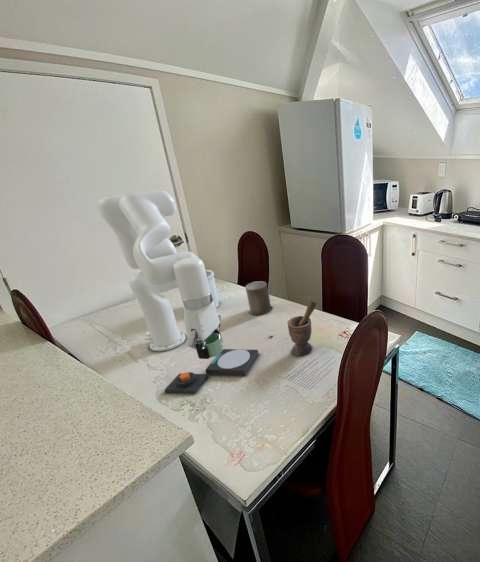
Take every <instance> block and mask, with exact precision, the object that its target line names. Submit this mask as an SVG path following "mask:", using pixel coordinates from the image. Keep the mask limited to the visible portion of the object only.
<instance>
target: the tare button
mask: <svg viewBox="0 0 480 562" xmlns="http://www.w3.org/2000/svg"><path fill="white" fill-rule="evenodd" d="M180 374H181V375H180V380H181V381H183V382H184V381H187V380H189V379H190V375H189V373H187V372H183V373H180Z"/></svg>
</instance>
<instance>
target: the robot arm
mask: <svg viewBox="0 0 480 562" xmlns="http://www.w3.org/2000/svg"><path fill="white" fill-rule="evenodd" d="M97 208H98V211H99V213H100V215H101V217H102V219H103V220H104V221H105V223H106V224H107V225H108V226H109V227H110V228H111V230H112V231H113V232H114V234H115V236H116V239H117V241H118V244H119V246H120V250H121V252H122V254H123V255H122V256H123V257H124V260H125V262H126V264H127V265H128V266H129V268H131V269H134V270H139V272H136V273H135V274H133V275H131V276H130V278H129V279H128V285H129V287H130V289H131V291H132V294H133V295H134V296H135V298H136V300H137V302H138V304H139V307H140V309H141V312H142V315H143V318H144V320H145V324H146V325H147V328H148V331H147V332H145V335H144V340H145V341H148V340H149V341H150V343H149V347H150V348H149V349H150V350H152V351H153V352H164V351H169V350H172V349H174V348H177V347H179V346H180V345H182V344H183V343H184V342H185V341H186V339H187V338H188V342H187V346H188V347H190V348H192V349H194V350H196V353H197V354H196V355H197V357H198V359H199V360H209V359H210V356H209V352H208V348H207V347H205V344H206V338H207V337H208V336H209V335H210V334H211V333H218V334H220V336H221V340H222V344H224V343H223V342H224V341H223V338H222V334H221V331H222V329H221V324H222V323H221V321H222V316H221V315H220V314H219V313H218V312H219V311H218V309H217V308H216V306H215V304H214V301H213V299H212V295H211V291H210V287H209V283H208V278H207V274H206V270H207V269H206V266H205V263H204V260H202V259H201V258H199V257H198V255H196V254H195V253H194V252H192V251H189V250H188V251H187V250H186V251H181V252H177V250H176V247H175V245H174V243H173V242H172V241H171V239H169V238H168V237H169V236H170V234H171V227H170V225H169V223H168V222H167V221H166V220H165V218H164V217H170V216H173V215H175V214H176V212H177V205H176V202H175V200H174V198H173V197H172V195H171V194H170V193H168V192H167V191H165V190H162V189H157V190H156V189H155V190H146V191H145V190H144V191H135V192H129V193H123V194H115V195H109V196H104V197H102V198H100V199H98V201H97ZM177 288H178V290H179V294H180V297H181V300H182V301H181V302H182V304H183V308H184V309H183V321H184V327H185V332H186V334H185V333H184V332H181V331H180V329H179V325H178V323H177V320H176V319H177V318H176V316H175V313H174V310H173V307H172V303H171V301H170V300H169V298H167V297H165V296H163V295H162V294H161V293H164V292H168V291H171V290H174V289H177ZM186 335H187V338H186ZM199 340H201V341H202V343H201V344H198V341H199Z"/></svg>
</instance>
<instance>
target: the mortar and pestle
mask: <svg viewBox="0 0 480 562" xmlns="http://www.w3.org/2000/svg"><path fill="white" fill-rule="evenodd" d="M316 307H317V301H315V300H312V299H311V300H310V301H309V302H308V304H307V307H306V309H305V313H304V314H303V315H298V316H297V315H296V316H294V317H291V318H290V319H288V320H287V329H288V335H289V337H290V340H291V341H292V342H293V343H294V345H293V346H292V354H294V355H295V356H305V355H307V354H309V353H310V352H311V351H312V350H313V347H312V345H311V343H310V342H309V341H310V340H311V336H312V320H311V318H310V317H311V315H312V314H313V312H314V311H315V310H316Z"/></svg>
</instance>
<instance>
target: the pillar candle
mask: <svg viewBox="0 0 480 562" xmlns="http://www.w3.org/2000/svg"><path fill="white" fill-rule="evenodd" d="M244 288H245V291H246V296H247V302H248V306H249V311H250V314H252V315H254V316H261V315H266V314H269V312H271V311H272V305H271V300H270V294H269V288H268V283H267V282H266V281H263V280H259V281H252V282H250V283H247V284H246V285H245V287H244Z"/></svg>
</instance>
